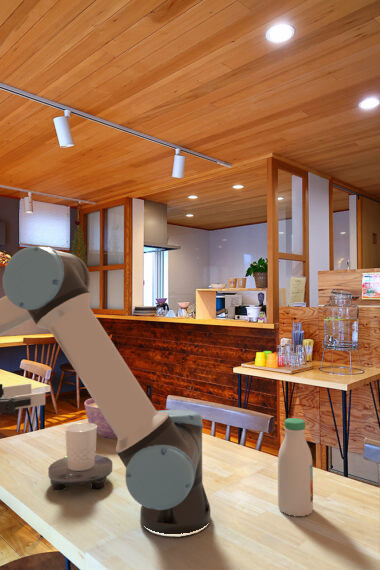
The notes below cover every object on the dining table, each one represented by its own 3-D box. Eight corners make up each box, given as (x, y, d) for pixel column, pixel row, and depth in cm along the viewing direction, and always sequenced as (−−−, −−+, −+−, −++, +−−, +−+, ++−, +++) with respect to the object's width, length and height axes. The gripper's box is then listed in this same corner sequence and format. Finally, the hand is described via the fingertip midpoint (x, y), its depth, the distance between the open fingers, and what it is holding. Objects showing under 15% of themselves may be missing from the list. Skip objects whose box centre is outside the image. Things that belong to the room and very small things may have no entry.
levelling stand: (122, 487, 111) (122, 469, 111) (58, 503, 102) (59, 483, 102) (97, 464, 125) (97, 449, 125) (39, 477, 116) (39, 460, 117)
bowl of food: (113, 422, 167) (113, 392, 167) (153, 432, 155) (153, 399, 156) (71, 436, 151) (71, 402, 151) (112, 448, 139) (112, 411, 139)
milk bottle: (307, 521, 94) (306, 427, 94) (272, 512, 98) (272, 421, 98) (317, 506, 100) (316, 418, 101) (284, 498, 104) (284, 413, 105)
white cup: (88, 473, 108) (88, 432, 108) (59, 471, 110) (59, 430, 110) (101, 461, 116) (101, 423, 116) (74, 459, 117) (74, 421, 118)
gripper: (-67, 413, 105) (26, 399, 116) (-61, 439, 84) (51, 420, 95) (-67, 381, 105) (25, 371, 116) (-62, 400, 84) (51, 385, 95)
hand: (37, 393), depth 106 cm, fingers open, 13 cm apart
